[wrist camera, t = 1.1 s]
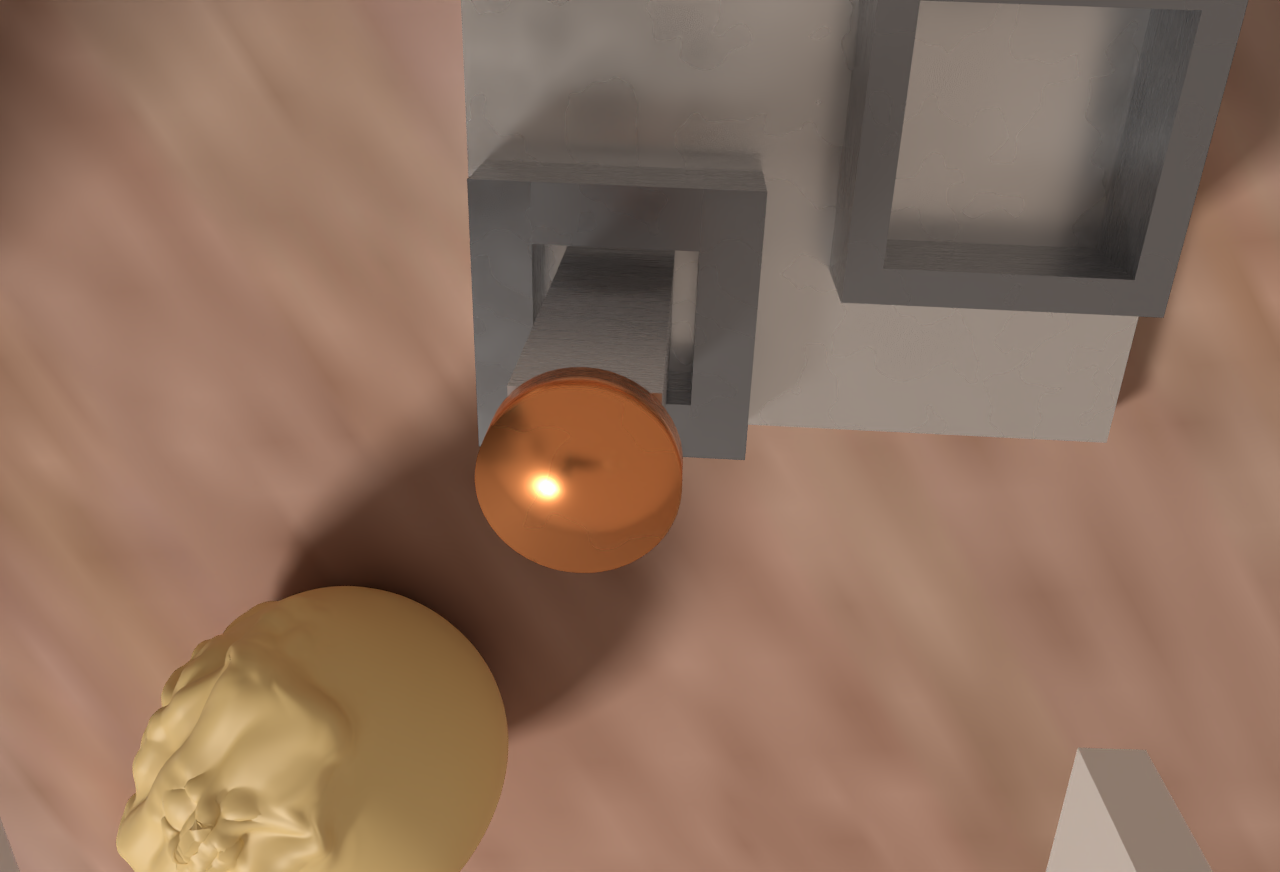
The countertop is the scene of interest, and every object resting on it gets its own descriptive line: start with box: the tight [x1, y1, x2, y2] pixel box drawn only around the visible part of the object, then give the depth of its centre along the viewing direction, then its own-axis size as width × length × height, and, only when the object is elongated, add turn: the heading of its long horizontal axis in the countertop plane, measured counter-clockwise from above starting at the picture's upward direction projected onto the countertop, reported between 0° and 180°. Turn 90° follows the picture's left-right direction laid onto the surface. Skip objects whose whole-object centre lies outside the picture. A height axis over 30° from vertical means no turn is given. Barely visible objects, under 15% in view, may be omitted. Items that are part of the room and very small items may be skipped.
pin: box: [475, 246, 683, 573], centre depth 26 cm, size 4×4×12 cm
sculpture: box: [116, 586, 508, 872], centre depth 35 cm, size 11×12×11 cm
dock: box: [461, 0, 1248, 460], centre depth 29 cm, size 20×14×4 cm
